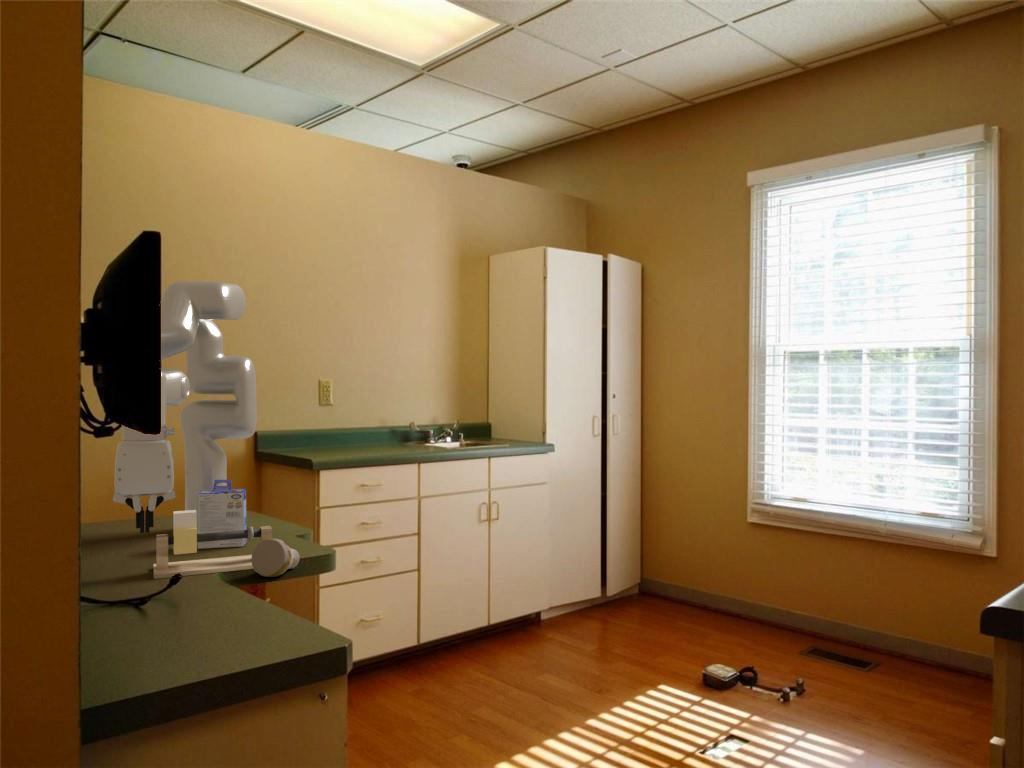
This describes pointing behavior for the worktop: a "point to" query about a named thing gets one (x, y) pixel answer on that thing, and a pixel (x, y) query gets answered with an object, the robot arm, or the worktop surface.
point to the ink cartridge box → (221, 514)
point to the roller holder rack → (206, 565)
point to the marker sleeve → (185, 532)
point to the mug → (273, 558)
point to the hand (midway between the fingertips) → (144, 531)
